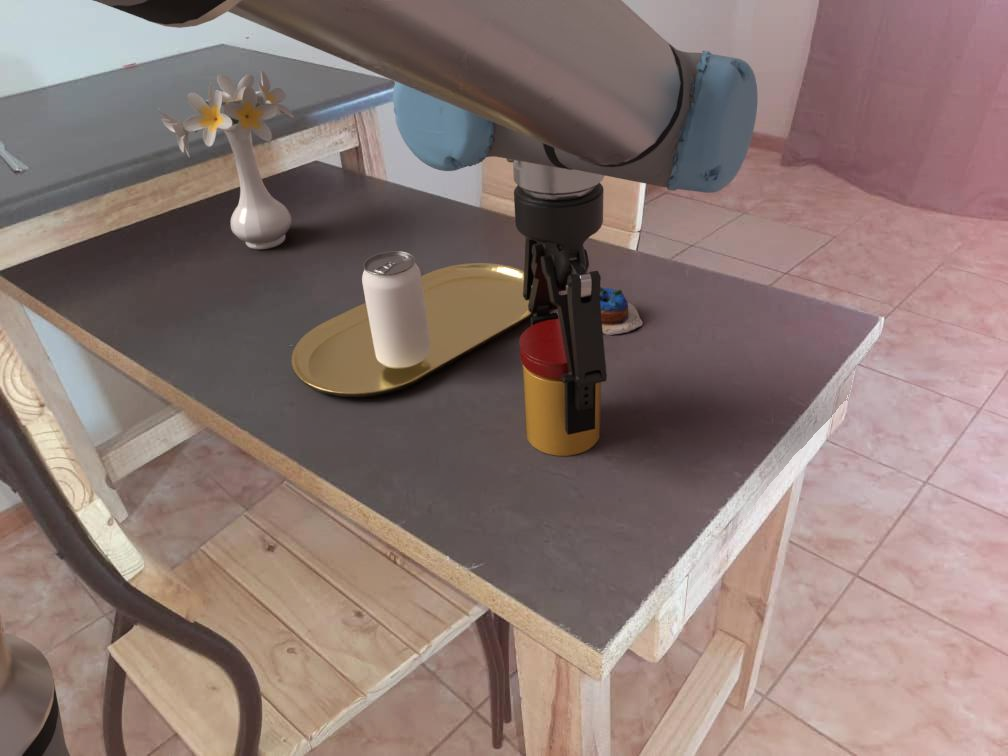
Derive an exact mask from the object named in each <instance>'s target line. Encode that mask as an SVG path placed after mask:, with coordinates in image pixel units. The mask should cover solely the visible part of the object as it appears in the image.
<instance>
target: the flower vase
mask: <svg viewBox="0 0 1008 756" xmlns="http://www.w3.org/2000/svg"><path fill="white" fill-rule="evenodd" d="M260 80H261V81H259V80H257V81H256V82H257V86H258V89H259V90H258V91H255V89H254V87H253V86H254V84H255V77H254V75H252V74H246V75H244V76H243V77H242V78H241V79H240V81H239V82H238V84H237V86H236V84H235V82H234V81H233V80H232V79H231V78H230V77H229V76H227V75H225V74H222V73H221V74H218V75H217V77H216V82H217V84H218V85H219V88H220V89H221V90H222V91H220V90H218V89H216V90H214V85H213V82H212V81H210V83H209V87H208V99H206V100H205V99H204V98H203V97H201V96H200V95H199V94H197V93H195V92H189V93H188V94H187V102H188V104H189V105H190V107H191V108H192V110H193V111H194V112H195V113H197V114H195V115H191V116H190V117H187V118H186V119H185V120H184V122H183V121H182V120H179V119H178V118H176V117H174V116H172V115H170V114H169V113H167V112H166V111H164V110H163V109H161V108H159V106H156V108H157V110H158V111H159V112H160V113H161V115H162V116H163V117H164V118H161V122H162V123H163V125H164V126H165V127H166V128H167V129H168V130H169V131H170V132H172V133H176V142H177V145H178V147H179V150H180V151H181V152H182V154H184V153H185V152H186V154H187V156H188V159H190V158H191V156H190V147H189V145H190V144H189V143H190V142H189V133H191V132H192V133H193V132H194V134H197V133H198V132H199V131H200V130H202V140H203V142H204V145H205V146H206V147H212V146H213V145H214V143H215V141H216V137H217V131H218V129H221V130H222V131H223V132H224V134H225V136H226V138H227V140H228V142H229V145H230V148H231V151H232V154H233V158H234V161H235V167H236V171H237V175H238V181H239V199H238V200H239V201H238V204H237V206H236V207H235V208H234V210H233V212H232V214H231V217H230V220H229V221H230V222H229V224H230V229H231V232H232V234H234V236H236V238H238V239H239V240H240V241H242V242H244V243H245V245H246V246H247V247H248V248H250V249H252V250H256V251H257V250H258V251H259V250H270V249H272V248H276V247H278V246H281V244H283V243H284V242H285V241H286V237H287V236H286V234H287V233H288V231H289V230H290V229H291V225H292V221H293V218H292V215H291V213H290V210H289V209H288V208H287V206H285V205H284V204H283V203H282V202H280V201H279V200H278V199H275V197H273V196H272V195H271V193H270V192H269V191H268V189H267V187H266V185H265V183H264V181H263V179H262V175H261V172H260V168H259V165H258V162H257V159H256V154H255V151H254V147H253V138H252V132H253V133H254V134H255V135H256V136H257V137H258V138H259V139H261V140H262V141H265V142H271V141H272V140H273V134H272V131H271V129H270V127H269V126H268V124H266V123H265V121H266V120H270V119H272V118H274V117H275V116H276V115H277V114H278V115H279V116H281V115H285V116H287V117H288V118H291V119H294V118H295V116H294V114H293V112H292V111H291V110H290V109H289V108H288V106H286V105H284V104H281V103H283V102H284V101H285V100H286V97H287V95H286V92H285V91H284V90H283V89H282V88H281V87H274V88H272V89H271V83H270V79H269V77H268V76H267V74H266V73H265V71H264V70H260ZM259 94H260V95H259ZM221 109H222V110H223V112H222V111H221Z"/></svg>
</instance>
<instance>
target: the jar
mask: <svg viewBox="0 0 1008 756" xmlns="http://www.w3.org/2000/svg"><path fill="white" fill-rule="evenodd" d="M522 380H523V382H522V383H523V401H524V417H525V419H524V421H525V436H526V438H527V441H528V442H529V444H530V445H531V446H532V447H533V448H534V449H536V450H538V451H539V452H542V453H544V454H547V455H550V456H556V457H568V456H569V457H570V456H575V455H580V454H581V453H584V452H586V451H588V450H590V449H591V448H592V447H594V446H595V445H596V444H597V442H598V441H599V439H600V437H601V405H602V404H601V401H602V399H601V398H602V382H600V383H596V393H595V429H592V430H588V431H583V432H579V433H574V434H570V435H568V434H567V432H566V430H565V383H563V382H562V379H551V378H545V377H542V376H539V375H536V374H534V373H532V372H530V371H529V370H528V369H526V368H525V367H524V365H523V364H522Z"/></svg>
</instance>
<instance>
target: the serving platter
mask: <svg viewBox="0 0 1008 756" xmlns="http://www.w3.org/2000/svg"><path fill="white" fill-rule="evenodd" d="M421 278H422V286H423V293H424V300H425V308H426V315H427V323H428V331H429V338H430V347H431V350H430V354H429V355H428V356H427V358H426V359H425V360H424V361H423V362H421V363H420V364H418V365H415V366H413V367H409V368H403V369H395V368H389V367H387V366H384V365H383V364H382V363H380V362H379V361H378V360H377V358H376V355H375V350H374V345H373V339H372V334H371V328H370V323H369V317H368V312H367V306H366V302H364V303H362V304H360V305H358V306H356V307H353V308H351V309H348V310H347V311H345V312H342V313H341V314H339V315H336V316H334V317H331V318H330V319H327V320H325V321H324V322H322V323H320V324H318V325H317V326H314V328H311V330H309V331H308V332H306V333H305V334H304V336H302V337H301V338H300V340H299V341H298V342H297V344H296V345H295V346H294V348H293V350H292V353H291V368H292V370H293V372H294V374H295V375H296V377H297V378H298V379H299V380H300V381H301V382H302V383H304V384H305V385H306V386H308V387H309V388H311V389H313V390H316V391H317V392H321V393H323V394H327V395H331V396H335V397H342V398H365V397H366V398H369V397H377V396H382V395H386V394H391V393H393V392H398V391H401V390H403V389H406V388H408V387H410V386H412V385H414V384H416V383H418V382H420V381H422V380H423V379H425V378H427V377H429V376H431V375H433V374H434V373H436V372H438V371H439V370H441V369H443V368H444V367H446V366H448V365H449V364H452V363H453V362H455V361H456V360H458V359H460V358H462V357H464V356H466V355H467V354H470V353H471V352H473V351H475V350H476V349H478V348H480V347H481V346H483V345H485V344H487V343H489V342H491V341H492V340H494V339H496V338H497V337H499V336H501V335H502V334H505V333H506V332H509V330H512V329H513V328H515V327H517V326H518V325H521V323H523V322H525V321H526V320H528V319H530V318H531V317H532V316H533V314H530V311H529V310H528V304H529V300H525V299H524V297H523V284H524V270H521V269H519V268H516V267H513V266H510V265H505V264H499V263H491V262H489V263H488V262H475V263H461V264H455V265H454V264H453V265H449V266H446V267H442V268H439V269H435V270H433V271H430V272H428V273H425V274H423V275H421ZM531 287H532V286H531Z"/></svg>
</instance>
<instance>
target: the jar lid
mask: <svg viewBox="0 0 1008 756" xmlns="http://www.w3.org/2000/svg"><path fill="white" fill-rule="evenodd" d="M519 354H520V355H519V356H520V362H521V363H522V364H523V365H524V367H525V368H526V369H528V370H529V371H530V372H532V373H534V374H536V375H539V376H542V377H545V378H551V379H561V376H564V374H565V373H568V367H567V361H566V355H565V349H564V344H563V338H562V332H561V326H560V321H559V319H552V320H547V321H543V322H540V323H537V324H535V325H532V326H531V325H530V326H529V327H528V328H526V329H525V330H524V331H523V332H522V334H521V335H520V338H519ZM523 365H522V366H523Z"/></svg>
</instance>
